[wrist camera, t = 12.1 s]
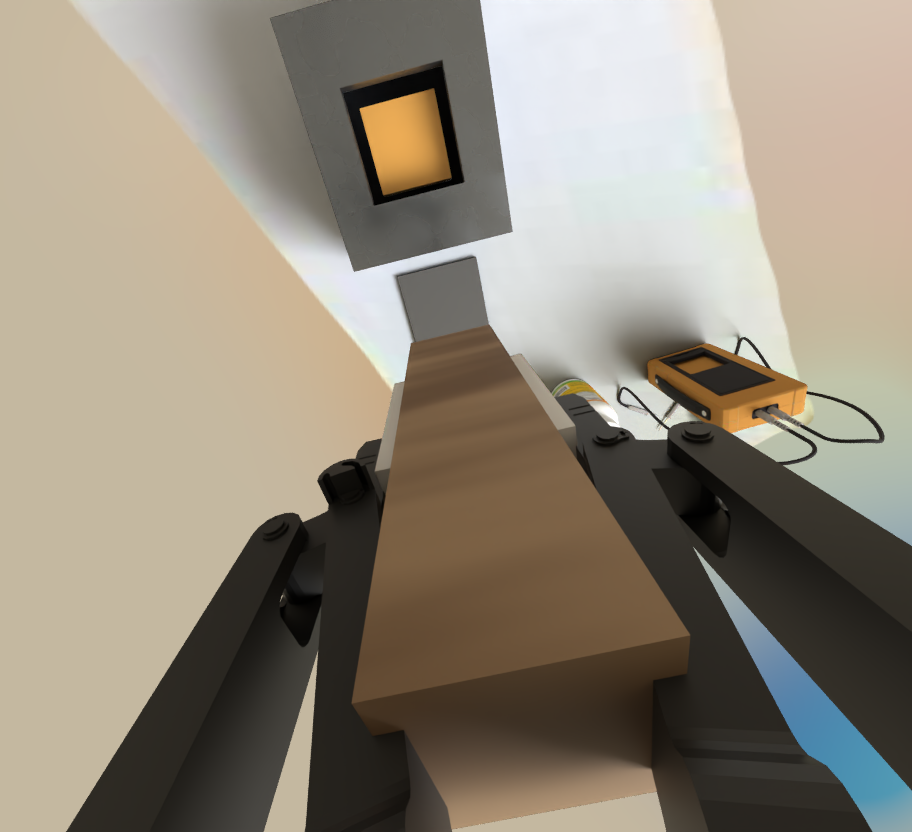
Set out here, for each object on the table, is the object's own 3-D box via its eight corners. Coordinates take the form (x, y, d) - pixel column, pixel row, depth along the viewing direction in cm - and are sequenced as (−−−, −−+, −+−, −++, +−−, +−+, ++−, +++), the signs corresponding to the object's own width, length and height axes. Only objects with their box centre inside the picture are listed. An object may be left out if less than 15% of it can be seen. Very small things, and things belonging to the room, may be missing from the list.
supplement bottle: (589, 416, 46) (626, 460, 38) (546, 420, 46) (574, 465, 38) (594, 376, 44) (635, 413, 35) (549, 379, 44) (578, 418, 35)
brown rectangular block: (410, 343, 19) (351, 703, 4) (489, 324, 19) (690, 635, 4) (431, 413, 21) (434, 832, 6) (502, 396, 20) (677, 787, 6)
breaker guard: (316, 78, 30) (269, 18, 22) (460, 38, 30) (474, -41, 21) (371, 260, 37) (353, 271, 28) (491, 229, 36) (512, 231, 27)
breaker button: (372, 129, 31) (359, 108, 25) (432, 113, 31) (434, 88, 25) (390, 200, 33) (383, 195, 28) (447, 185, 33) (451, 177, 28)
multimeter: (621, 439, 48) (733, 564, 31) (613, 369, 44) (739, 468, 26) (736, 406, 47) (922, 516, 29) (740, 331, 43) (963, 407, 25)
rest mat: (397, 276, 38) (397, 277, 37) (475, 256, 37) (476, 257, 37) (418, 351, 41) (418, 352, 41) (490, 334, 41) (490, 335, 41)
